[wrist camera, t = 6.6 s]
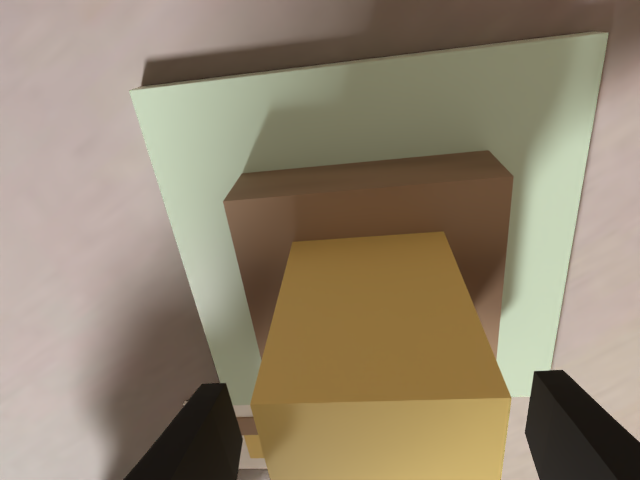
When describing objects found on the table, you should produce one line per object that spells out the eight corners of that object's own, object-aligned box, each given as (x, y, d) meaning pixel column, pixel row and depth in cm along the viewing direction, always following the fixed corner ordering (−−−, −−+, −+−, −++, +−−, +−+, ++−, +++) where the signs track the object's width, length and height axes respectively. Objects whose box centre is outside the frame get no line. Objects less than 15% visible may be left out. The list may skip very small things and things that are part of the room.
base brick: (476, 344, 17) (493, 392, 15) (280, 353, 18) (270, 398, 16) (488, 150, 14) (513, 175, 11) (241, 173, 14) (223, 201, 12)
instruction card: (336, 464, 23) (336, 469, 22) (208, 465, 23) (207, 471, 23) (326, 396, 20) (325, 401, 20) (184, 401, 21) (182, 405, 21)
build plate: (538, 381, 19) (545, 396, 18) (231, 392, 21) (227, 405, 20) (594, 31, 12) (608, 32, 12) (140, 86, 14) (129, 90, 13)
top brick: (441, 348, 14) (491, 545, 9) (310, 353, 15) (287, 543, 10) (443, 231, 12) (511, 398, 7) (292, 242, 13) (249, 404, 8)
